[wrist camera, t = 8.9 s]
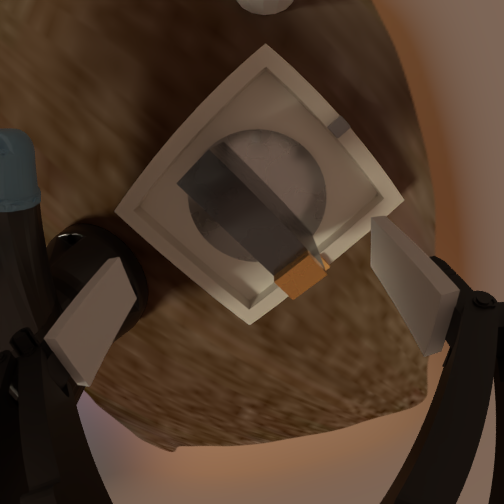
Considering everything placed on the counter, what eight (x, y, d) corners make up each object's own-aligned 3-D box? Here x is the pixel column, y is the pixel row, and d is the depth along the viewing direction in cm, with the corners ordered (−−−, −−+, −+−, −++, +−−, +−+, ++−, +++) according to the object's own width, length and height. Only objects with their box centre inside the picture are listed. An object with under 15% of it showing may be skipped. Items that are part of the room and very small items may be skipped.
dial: (164, 196, 25) (126, 229, 18) (259, 100, 21) (257, 90, 14) (254, 280, 28) (251, 335, 21) (350, 202, 24) (383, 238, 17)
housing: (250, 305, 33) (249, 328, 29) (129, 200, 27) (111, 213, 24) (389, 190, 26) (406, 201, 22) (265, 53, 21) (265, 41, 17)
